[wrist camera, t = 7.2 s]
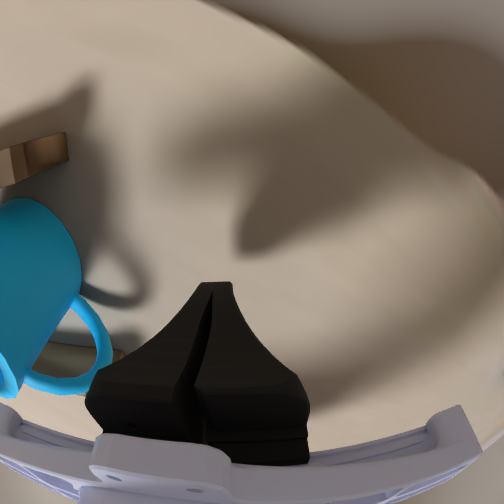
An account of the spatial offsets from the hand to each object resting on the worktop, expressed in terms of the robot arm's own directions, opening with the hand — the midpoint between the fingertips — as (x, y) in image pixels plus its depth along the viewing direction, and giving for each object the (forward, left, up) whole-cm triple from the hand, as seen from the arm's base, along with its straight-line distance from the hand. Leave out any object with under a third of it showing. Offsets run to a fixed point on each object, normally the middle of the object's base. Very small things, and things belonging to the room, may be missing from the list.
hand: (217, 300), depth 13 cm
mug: (0, +11, -3) cm, 11 cm away
